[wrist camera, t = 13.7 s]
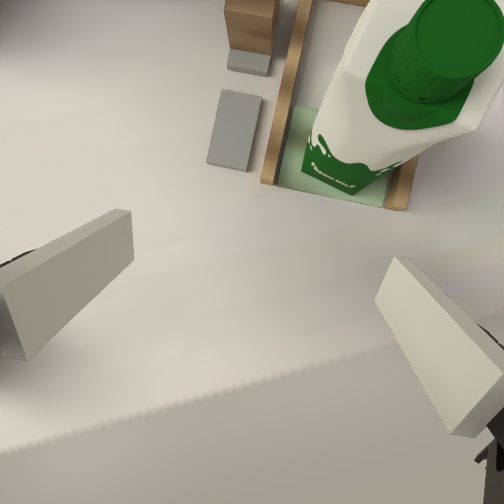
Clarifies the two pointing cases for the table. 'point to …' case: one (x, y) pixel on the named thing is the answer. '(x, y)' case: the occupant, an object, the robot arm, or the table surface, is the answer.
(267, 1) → the walnut cube
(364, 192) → the lane
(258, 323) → the table surface
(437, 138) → the soya milk
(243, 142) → the broken strip
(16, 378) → the table surface
